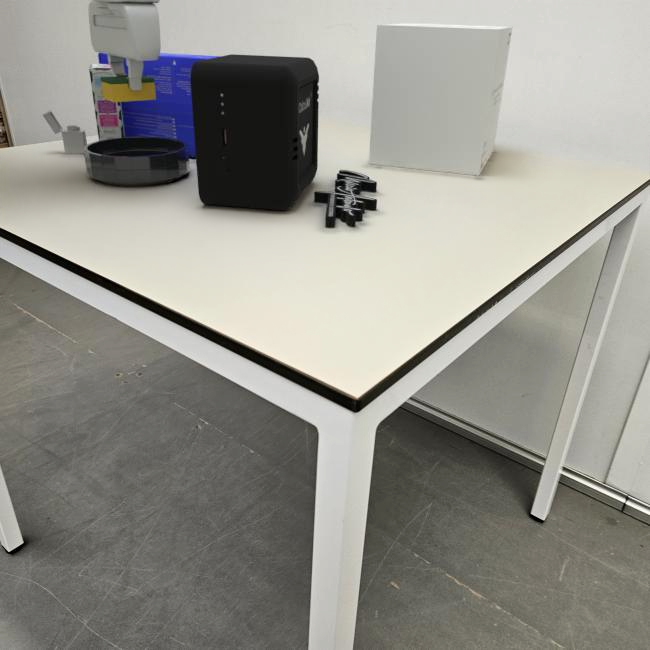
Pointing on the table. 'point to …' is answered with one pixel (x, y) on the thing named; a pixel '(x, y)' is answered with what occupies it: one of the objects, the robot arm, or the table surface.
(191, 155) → the blue box
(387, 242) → the table surface
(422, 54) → the cube
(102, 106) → the candy bar box
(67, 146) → the lighter
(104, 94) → the sponge
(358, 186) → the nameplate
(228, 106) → the black computer case
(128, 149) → the bowl
